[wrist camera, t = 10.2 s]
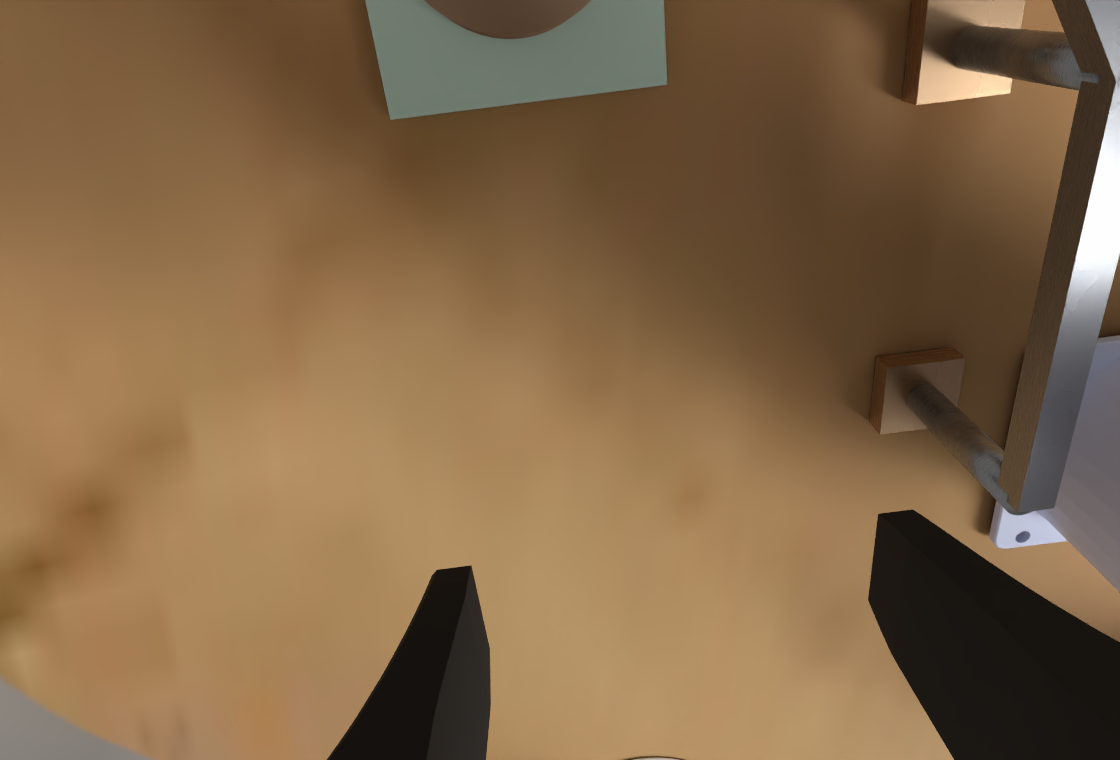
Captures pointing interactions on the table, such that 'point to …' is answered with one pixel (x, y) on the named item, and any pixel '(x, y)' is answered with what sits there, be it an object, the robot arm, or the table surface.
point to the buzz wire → (1072, 250)
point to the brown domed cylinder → (508, 15)
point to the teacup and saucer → (656, 759)
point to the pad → (513, 57)
